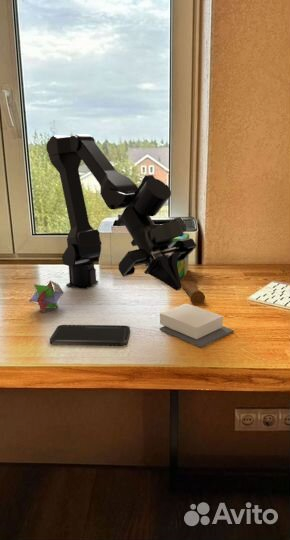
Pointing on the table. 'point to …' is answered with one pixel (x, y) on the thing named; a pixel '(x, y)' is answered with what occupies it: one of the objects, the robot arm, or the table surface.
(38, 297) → the geometric puzzle
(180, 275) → the chalk box
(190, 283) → the primitive tool
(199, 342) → the mat
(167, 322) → the cream flat block
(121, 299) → the table surface
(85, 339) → the phone
